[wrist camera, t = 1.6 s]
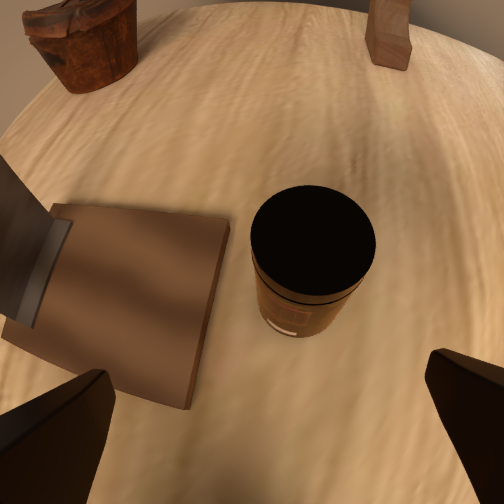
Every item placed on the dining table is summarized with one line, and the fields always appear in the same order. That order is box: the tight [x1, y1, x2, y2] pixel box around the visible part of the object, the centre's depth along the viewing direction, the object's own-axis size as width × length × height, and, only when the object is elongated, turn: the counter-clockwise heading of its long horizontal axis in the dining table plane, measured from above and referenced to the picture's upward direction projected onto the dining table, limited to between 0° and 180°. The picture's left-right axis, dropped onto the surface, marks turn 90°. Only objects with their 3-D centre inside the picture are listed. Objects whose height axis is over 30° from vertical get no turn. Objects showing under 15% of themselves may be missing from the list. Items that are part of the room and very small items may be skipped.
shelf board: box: [0, 155, 230, 410], centre depth 18 cm, size 14×18×12 cm
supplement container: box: [250, 185, 376, 338], centre depth 18 cm, size 6×6×9 cm
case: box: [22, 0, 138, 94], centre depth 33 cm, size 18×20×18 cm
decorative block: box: [365, 0, 412, 71], centre depth 30 cm, size 11×6×20 cm, turn 169°
